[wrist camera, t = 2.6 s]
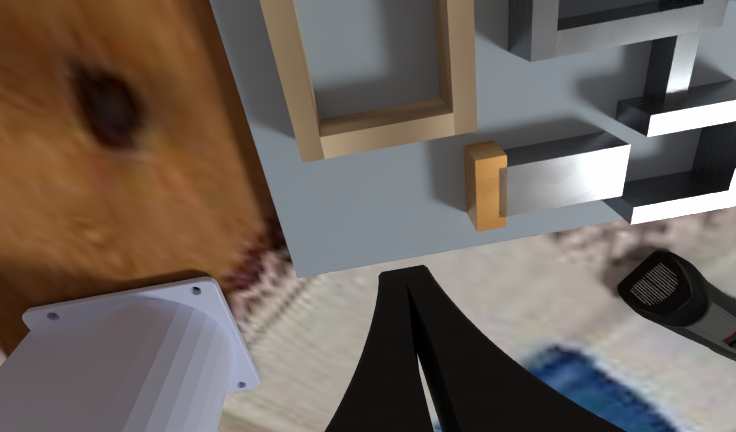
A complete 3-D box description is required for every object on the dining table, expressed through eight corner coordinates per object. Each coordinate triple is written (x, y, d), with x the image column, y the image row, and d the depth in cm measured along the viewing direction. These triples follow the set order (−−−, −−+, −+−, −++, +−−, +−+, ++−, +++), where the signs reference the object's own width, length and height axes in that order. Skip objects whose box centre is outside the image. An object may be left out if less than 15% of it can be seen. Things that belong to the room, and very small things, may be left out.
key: (466, 212, 19) (477, 232, 17) (463, 145, 17) (475, 160, 16) (598, 189, 18) (620, 206, 17) (607, 118, 17) (632, 132, 15)
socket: (506, 218, 19) (524, 243, 17) (509, -173, 12) (540, -197, 10) (704, 183, 19) (742, 204, 17) (821, -233, 12) (903, -267, 10)
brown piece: (305, 143, 16) (302, 163, 15) (258, -41, 13) (248, -43, 11) (461, 114, 16) (477, 131, 15) (452, -78, 13) (471, -85, 11)
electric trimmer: (752, 369, 29) (796, 410, 26) (606, 289, 23) (643, 330, 21) (802, 334, 27) (855, 374, 24) (659, 240, 22) (706, 277, 19)
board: (298, 265, 20) (297, 277, 20) (173, -140, 13) (162, -148, 12) (684, 195, 20) (700, 205, 19) (802, -261, 12) (837, -279, 12)
